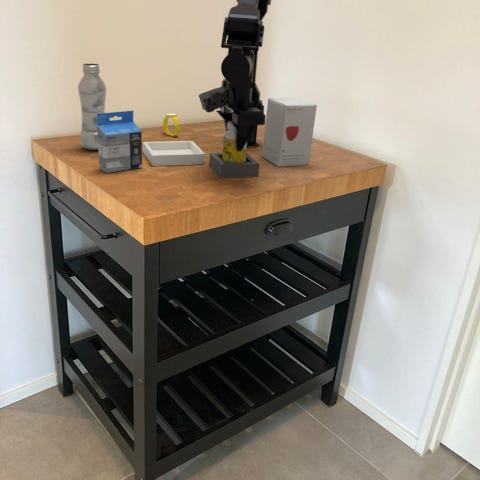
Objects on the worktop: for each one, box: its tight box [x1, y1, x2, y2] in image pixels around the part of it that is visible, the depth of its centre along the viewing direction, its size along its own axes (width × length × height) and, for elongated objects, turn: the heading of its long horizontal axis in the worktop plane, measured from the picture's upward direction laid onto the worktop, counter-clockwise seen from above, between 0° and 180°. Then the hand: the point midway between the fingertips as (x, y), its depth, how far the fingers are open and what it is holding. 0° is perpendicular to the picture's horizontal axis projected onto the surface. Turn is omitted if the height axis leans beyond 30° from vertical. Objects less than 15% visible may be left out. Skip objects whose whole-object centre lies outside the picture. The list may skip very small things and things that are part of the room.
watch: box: [162, 112, 181, 137], centre depth 145 cm, size 6×3×6 cm, turn 44°
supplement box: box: [261, 97, 318, 168], centre depth 128 cm, size 9×9×15 cm
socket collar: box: [208, 152, 260, 179], centre depth 121 cm, size 9×9×3 cm
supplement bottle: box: [222, 122, 248, 163], centre depth 118 cm, size 5×5×10 cm
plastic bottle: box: [77, 62, 107, 151], centre depth 125 cm, size 6×7×20 cm
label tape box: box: [97, 110, 143, 174], centre depth 114 cm, size 9×4×12 cm, turn 129°
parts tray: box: [142, 140, 206, 167], centre depth 126 cm, size 13×12×2 cm
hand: (234, 147), depth 119 cm, fingers closed on supplement bottle, 5 cm apart
